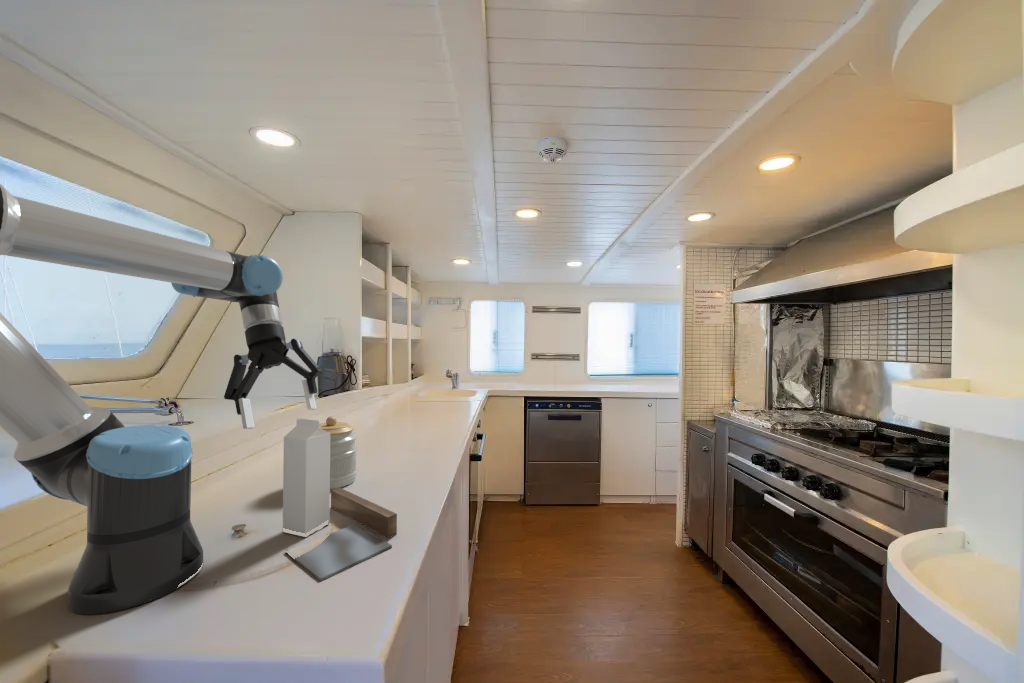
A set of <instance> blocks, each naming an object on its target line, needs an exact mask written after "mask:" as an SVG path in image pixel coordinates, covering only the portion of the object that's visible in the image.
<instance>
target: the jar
mask: <svg viewBox="0 0 1024 683" xmlns="http://www.w3.org/2000/svg"><path fill="white" fill-rule="evenodd" d="M337 420H338V419H337V418H336V417H335V416H328V417H327V418H326V420H325V422H322V423H319V428H320V429H322V430H325V431H327V432H329V433H330V490H333V489H336V488H343V487H347V486H348V485H352V484H353V483H354V482H355V481H356V477H357V473H358V472H357V470H358V469H357V450H358V448H357V446H356V440H357V438H358V435H357V434H356V433H354V432H353V431H354V429H355V427H354V426H352V425H350V424H349V423H348V422H343V421H337ZM346 485H347V486H346Z"/></svg>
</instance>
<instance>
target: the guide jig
mask: <svg viewBox="0 0 1024 683" xmlns="http://www.w3.org/2000/svg"><path fill="white" fill-rule="evenodd" d="M330 509H333V510H334V511H336V512H338V513H340V514H342V515H344V516H346V517H347V518H349V519H351V520H353V521H355V522H356V523H358V522H359V523H358V524H360V523H361V524H360V525H362V526H364V525H365V526H364V527H366V528H368V529H369V530H371V529H372V531H373V530H374V531H373V532H375V531H376V532H375V533H377V534H379V535H380V536H383V537H384V536H385V538H386V537H387V538H386V539H389V538H391V536H392V537H394V536H396V535H397V534H398V533H397V531H398V530H397V528H398V518H397V517H398V514H397V513H396V512H394V511H391V510H390V509H387V508H385V507H382V506H381V505H378V504H376V503H375V502H372V501H369V500H367V499H366V498H363V497H361V496H359V495H357V494H356V493H352V492H351V491H348V490H346V489H344V488H343V487H340V488H336V489H330ZM329 534H330V535H329V536H328V537H327V538H326V539H325V540H324V541H323V542H322V543H321V544H319V545H318V546H317V547H316V548H314V549H312V550H311V551H309V552H307V553H305V554H303V555H301V556H300V557H297V558H295V560H294V561H295V562H296V563H297V564H298V565H300V566H301V567H302V568H303V569H305V571H307V572H308V573H310V574H311V575H312V576H314V577H315V578H316V579H317V580H318V581H320V582H323V581H325V580H326V579H329V578H331V577H332V576H335V575H337V574H339V573H341V572H344V571H345V570H347V569H350V568H352V567H354V566H356V565H358V564H360V563H362V562H364V561H366V560H368V558H369V559H370V557H371V558H373V557H374V556H377V555H379V554H381V553H383V552H385V551H387V549H388V550H389V548H390V549H392V548H393V545H392V544H391V543H388V542H386V541H385V540H383V539H381V538H379V537H378V536H376V535H374V534H372V533H370V532H368V531H366V530H365V529H364V528H361V527H359V526H357V525H356V524H352V525H349V526H346V527H344V528H341V529H339V530H336V531H333V532H332V533H331V532H330V533H329ZM372 556H373V557H372Z"/></svg>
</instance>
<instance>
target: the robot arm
mask: <svg viewBox="0 0 1024 683" xmlns="http://www.w3.org/2000/svg"><path fill="white" fill-rule="evenodd" d="M0 256H6V257H7V256H8V257H13V258H20V259H26V260H31V261H39V262H45V263H49V264H56V265H62V266H69V267H74V268H81V269H86V270H93V271H98V272H104V273H105V272H106V273H110V274H117V275H118V274H119V275H124V276H130V277H137V278H142V279H147V280H148V279H149V280H153V281H161V282H166V283H171V286H172V288H173V289H174V291H175V292H177V293H178V294H182V295H187V296H191V297H193V298H196V297H198V298H206V299H212V300H213V299H214V300H219V301H226V302H227V301H228V302H231V303H238V304H239V307H240V312H241V318H242V326H243V329H244V336H245V337H244V338H245V340H246V342H245V343H246V346H247V348H248V353H247V354H241V355H240V354H235V355H234V356H233V367H232V370H231V374H230V377H229V380H228V383H227V386H226V388H225V392H224V395H223V399H224V400H229V401H230V400H231V401H234V403H235V409H236V410H235V411H236V414H237V415H240V416H241V422H242V428H243V429H246V430H247V429H248V430H249V429H251V430H252V429H254V428H256V427H255V421H254V420H255V419H254V414H253V408H252V404H251V399H250V398H247V397H248V395H249V393H250V391H251V390H252V388H253V386H254V385H255V383H256V381H257V379H258V377H259V376H260V375H261V374H262V373H263V371H264V370H269V369H272V368H274V367H279V366H281V365H282V364H284V365H286V366H287V367H288V368H289V369H291V370H293V372H296V373H297V374H299V375H300V376H302V377H303V378H304V379H302V380H301V383H302V388H303V393H304V398H305V402H306V403H305V404H306V408H307V410H311V411H315V410H317V408H318V407H317V403H316V399H315V394H318V387H317V382H316V378H317V377H319V376H321V375H322V374H323V370H322V369H321V367H320V366H319V364H317V363H316V362H315V360H314V359H313V358H312V357H311V356H310V355H309V353H308V352H307V351H306V350H305V349H304V347H303V342H302V341H300V340H298V339H296V338H292V339H291V340H290V341H289V342H286V340H287V339H286V334H285V329H284V326H283V320H282V316H281V314H282V313H281V311H280V310H281V309H280V306H279V304H280V303H279V298H278V292H277V291H278V290H279V289H280V288H281V286H282V284H283V278H284V277H283V276H284V275H283V274H284V273H283V270H282V268H281V267H280V264H278V262H277V261H276V260H274V259H273V258H271V257H269V256H267V255H258V254H253V255H252V254H251V255H244V254H239V253H236V252H233V251H227V250H223V249H221V248H217V247H212V246H208V245H206V244H205V245H204V244H201V243H196V242H193V241H190V240H189V241H188V240H186V239H182V238H178V237H173V236H170V235H166V234H162V233H158V232H154V231H152V230H147V229H143V228H139V227H135V226H131V225H127V224H125V223H120V222H116V221H112V220H109V219H105V218H101V217H97V216H93V215H88V214H86V213H81V212H77V211H73V210H70V209H66V208H63V207H59V206H54V205H51V204H47V203H43V202H40V201H35V200H33V199H32V200H31V199H28V198H24V197H21V196H16V195H13V194H12V193H10V192H9V191H8V189H6V188H5V187H4V186H3V184H1V183H0ZM289 349H290V350H291V351H294V353H296V355H297V357H298V358H300V360H301V361H302V362H303V364H305V365H306V366H307V368H308V370H307V369H306V368H304V367H303V366H302V365H300V364H298V362H295V361H294V360H293V359H292V358H290V357H289V356H287V355H288V352H289V351H290V350H289ZM249 361H250V364H249ZM248 364H249V366H248V367H247V365H248ZM246 369H247V372H246ZM309 370H310V371H309ZM245 373H246V374H245ZM0 428H1V429H2V430H4V432H6V433H7V434H8V435H9V436H10V437H11V438H12V439H14V440H15V441H16V442H17V445H16V448H15V451H14V452H13V458H14V459H15V460H16V462H18V463H19V464H20V465H22V466H23V467H24V469H26V470H27V471H29V473H30V474H31V477H32V479H33V481H34V482H35V484H36V485H37V486H38V488H39V489H40V490H42V491H43V492H45V493H46V494H48V495H50V496H52V497H54V498H57V499H62V500H67V501H71V502H74V503H76V504H80V505H83V506H85V507H87V509H86V512H87V513H86V517H87V518H86V526H87V527H86V530H87V531H86V533H87V534H86V546H85V549H84V551H83V553H82V555H81V558H80V559H79V563H78V565H77V567H76V569H75V571H74V574H73V576H72V579H71V581H70V584H69V585H68V590H67V608H68V609H69V610H70V611H71V612H73V613H76V614H80V615H81V614H82V615H95V614H96V615H98V614H107V613H111V612H112V613H113V612H117V611H122V610H127V609H129V608H133V607H137V606H140V605H143V604H145V603H149V602H152V601H153V600H156V599H158V598H159V599H160V598H161V597H163V596H165V595H168V594H170V593H172V592H173V591H176V590H177V589H178V588H177V587H178V585H179V584H180V583H182V582H184V581H185V580H186V579H188V578H189V577H190V576H192V575H193V574H195V573H196V572H197V571H198V569H199V568H200V567H201V565H202V563H203V564H204V549H203V547H202V544H201V542H200V540H199V537H198V535H197V533H196V531H195V528H194V526H193V524H192V522H191V502H192V500H191V498H192V494H191V493H192V490H191V489H192V459H193V453H194V452H193V448H192V442H191V440H192V439H191V436H190V434H189V433H188V432H187V431H186V430H185V429H182V428H180V427H176V426H173V425H164V424H163V425H155V424H143V425H141V424H139V425H132V426H131V425H129V426H125V425H124V424H123V423H122V422H121V421H120V420H119V418H117V417H116V415H114V413H113V412H112V411H111V410H110V409H109V408H107V407H96V406H90V405H89V404H88V403H87V402H86V401H85V400H84V399H83V398H82V397H81V396H80V394H78V393H77V392H76V391H75V390H74V388H73V387H72V386H71V385H70V383H68V382H67V381H66V380H65V379H64V378H63V377H62V376H61V375H60V373H58V371H57V370H56V369H54V368H53V367H52V365H51V364H50V363H49V362H48V361H47V360H46V359H45V358H44V357H43V356H42V355H41V353H39V351H38V350H37V349H35V347H34V346H32V344H31V343H30V342H29V341H28V340H27V339H26V338H25V337H24V336H23V334H22V333H20V332H19V331H18V330H17V328H15V326H13V324H12V323H11V322H10V321H9V320H8V319H7V318H6V317H5V316H4V315H3V314H2V313H1V312H0ZM176 588H177V589H176Z"/></svg>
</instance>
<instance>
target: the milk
mask: <svg viewBox="0 0 1024 683" xmlns="http://www.w3.org/2000/svg"><path fill="white" fill-rule="evenodd" d="M319 424H320V421H319V420H318V419H309V418H308V419H307V418H296V424H295V426H294V427H293V428H292V429H291V430H290V431H288V433H287V434H285V436H283V470H282V471H283V477H282V478H283V479H282V481H283V484H282V485H283V487H282V529H283V528H285V529H289V530H292V531H296V532H301V533H305V534H306V533H307V532H309V531H311V530H312V529H314V528H316V527H318V526H319V525H321V524H322V523H324V522H325V521H327V520H329V521H330V509H331V489H330V433H329V432H327V431H325V430H322V429H320V428H319Z"/></svg>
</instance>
